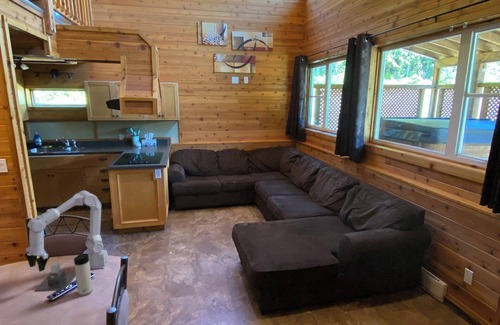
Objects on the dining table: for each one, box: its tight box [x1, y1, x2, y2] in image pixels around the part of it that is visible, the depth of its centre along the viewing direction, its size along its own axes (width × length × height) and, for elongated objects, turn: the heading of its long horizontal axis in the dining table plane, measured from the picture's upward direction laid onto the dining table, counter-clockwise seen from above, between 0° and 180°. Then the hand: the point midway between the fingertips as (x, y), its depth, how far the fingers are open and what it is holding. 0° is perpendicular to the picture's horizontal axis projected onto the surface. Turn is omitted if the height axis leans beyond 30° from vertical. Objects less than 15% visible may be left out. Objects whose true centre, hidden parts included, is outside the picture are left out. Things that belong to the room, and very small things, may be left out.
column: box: [49, 261, 61, 275], centre depth 156 cm, size 3×3×10 cm
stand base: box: [34, 268, 76, 292], centre depth 157 cm, size 14×14×6 cm
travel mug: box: [73, 253, 93, 297], centre depth 148 cm, size 6×7×20 cm
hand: (37, 268), depth 151 cm, fingers open, 7 cm apart
